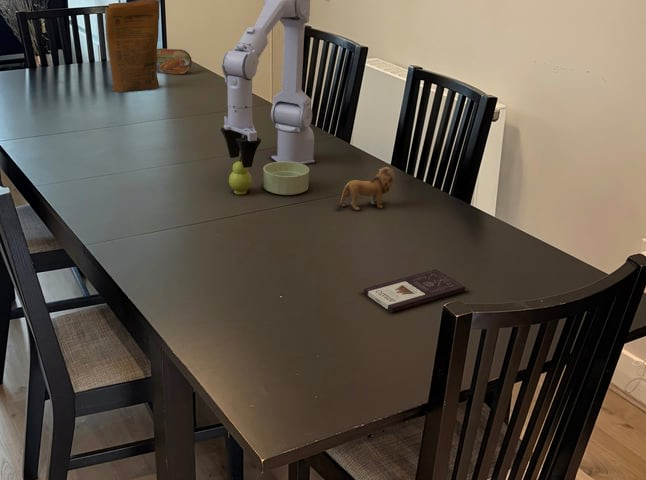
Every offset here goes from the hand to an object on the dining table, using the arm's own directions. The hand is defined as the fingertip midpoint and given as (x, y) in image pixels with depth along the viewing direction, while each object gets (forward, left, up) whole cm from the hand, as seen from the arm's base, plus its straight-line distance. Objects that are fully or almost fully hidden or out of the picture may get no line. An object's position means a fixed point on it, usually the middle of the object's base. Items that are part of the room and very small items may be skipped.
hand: (240, 162), depth 201 cm
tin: (-26, -119, -8) cm, 122 cm away
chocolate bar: (-9, +63, -8) cm, 64 cm away
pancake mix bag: (-7, -101, -8) cm, 101 cm away
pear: (0, 0, -8) cm, 8 cm away
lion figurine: (-24, +20, -8) cm, 32 cm away
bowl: (-11, +2, -8) cm, 14 cm away
